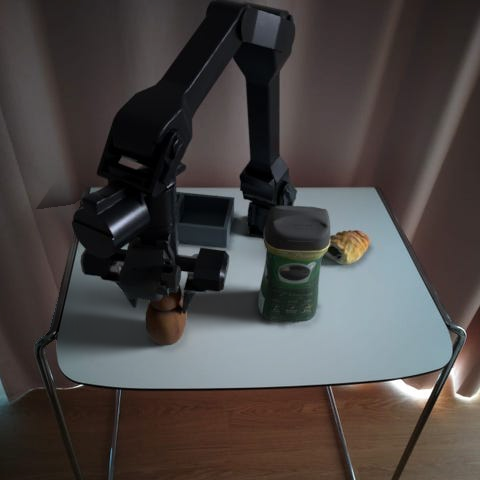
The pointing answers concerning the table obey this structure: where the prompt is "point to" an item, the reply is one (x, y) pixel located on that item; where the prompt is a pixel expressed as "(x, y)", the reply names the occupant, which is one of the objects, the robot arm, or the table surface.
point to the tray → (204, 219)
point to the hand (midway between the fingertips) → (159, 308)
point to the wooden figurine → (166, 319)
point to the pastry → (347, 246)
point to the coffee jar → (293, 262)
